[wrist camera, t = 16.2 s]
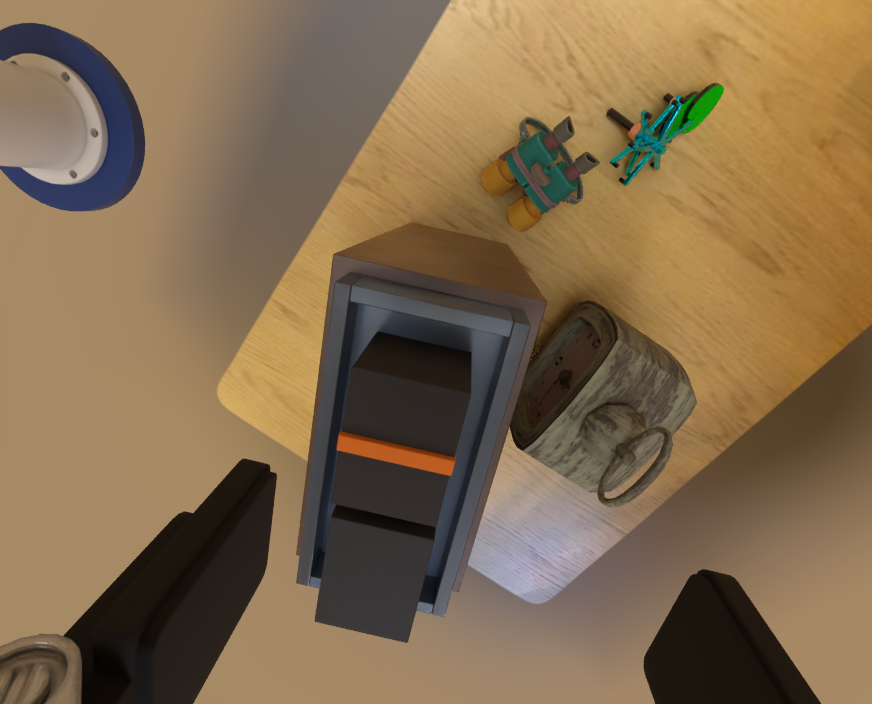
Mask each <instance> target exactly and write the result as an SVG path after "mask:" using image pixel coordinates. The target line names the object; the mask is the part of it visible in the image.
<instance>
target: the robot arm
mask: <svg viewBox="0 0 872 704" xmlns="http://www.w3.org/2000/svg"><path fill="white" fill-rule="evenodd" d="M107 147H108V130H107V125H106V119H105V116H104V113H103V111H102V108H101V106H100V104H99V102H98V100H97V98H96V96H95V94H94V93H93V91H92V90H91V89H90V87H89V86H88V84H87V83H86V82H85V81H84V80H83V79H82V78H81V77H80V76H79V75H78V74H77V73H76V72H75V71H73V70H72V69H71V68H69V67H68V66H66V65H65V64H63V63H61V62H59V61H57V60H54V59H52V58H49V57H46V56H42V55H38V54H19V55H15V56H12V57H11V58H9V59H7V60H5V61H2V60H0V166H10V167H21V168H22V169H24V170H25V171H26V172H28V173H29V174H31V175H32V176H34V177H36V178H38V179H40V180H43V181H46V182H49V183H53V184H61V185H73V184H78V183H82V182H84V181H86V180H88V179H90V178H91V177H92V176H93V175H95V174H96V173H97V172H98V170H99V169H100V167H101V166H102V164H103V162H104V159H105V157H106V153H107ZM276 480H277V475H276V473H273V472H270V466H269V465H268V464H265V463H261V462H257V461H253V460H248V459H242V460H241V461H239V462H238V464H237V465H236V466H235V467H234V468H233V469H232V470H231V472H230V473H229V474H228V475H227V476H226V477H225V478H224V479H223V481H222V482H221V483H220V484H219V485H218V486H217V487H216V488H215V489H214V491H213V492H212V493H211V494H210V495H209V496H208V497H207V498H206V500H205V501H204V502H203V503H202V504H201V505H200V506H199V507H198V509H197V510H196V511H195V512H194V513H189V512H182V513H180V514H178V515H177V516H176V517H175V518H173V519H172V521H170V522H169V524H168V525H167V526H166V527H165V528H164V529H163V530H162V531H161V532H160V533H159V534H158V535H157V537H156V538H154V540H153V541H152V542H151V543H150V544H149V545H148V546H147V547H146V548H145V549H144V550H143V551H142V552H141V553H140V555H139V556H138V557H137V558H136V559H135V560H134V561H133V562H132V563H131V564H130V565H129V566H128V567H127V568H126V569H125V571H124V572H123V573H122V574H121V575H120V576H119V577H118V578H117V579H116V580H115V581H114V582H113V583H112V585H110V587H109V588H108V589H107V590H106V591H105V592H104V593H103V594H102V595H101V596H100V597H99V599H97V600H96V601H95V603H94V604H93V605H92V606H91V607H90V608H89V609H88V610H87V611H86V612H85V613H84V614H83V615H82V617H81V618H80V619H79V620H78V621H77V622H76V623H75V624H74V625H73V626H72V627H71V628H70V629H69V630H68V631H67V633H66V634H65V635H64V636H61V635H58V634H38V635H34V636H29V637H24V638H20V639H17V640H15V641H13V642H10V643H8V644H5V645H3V646H1V647H0V704H193V703H194V701H195V699H196V698H197V696H198V694H199V692H200V690H201V689H202V687H203V685H204V683H205V681H206V679H207V678H208V676H209V674H210V672H211V670H212V669H213V667H214V665H215V663H216V661H217V660H218V658H219V656H220V654H221V652H222V651H223V649H224V647H225V645H226V643H227V642H228V640H229V638H230V636H231V634H232V633H233V631H234V629H235V627H236V625H237V623H238V622H239V620H240V618H241V616H242V614H243V613H244V611H245V609H246V607H247V606H248V603H249V602H250V600H251V598H252V596H253V595H254V593H255V591H256V589H257V588H258V586H259V584H260V582H261V580H262V578H263V576H264V573H265V570H266V566H267V560H268V551H269V541H270V533H271V524H272V515H273V507H274V497H275V489H276ZM644 672H645V675H646V679H647V681H648V684H649V686H650V690H651V693H652V695H653V698H654V701H655V704H821V703H820V701H819V700H818V698H817V697H816V695H815V694H814V693H813V691H812V690H811V688H810V687H809V685H808V684H807V682H806V681H805V679H804V678H803V677H802V675H801V674H800V672H799V671H798V669H797V668H796V666H795V665H794V663H793V662H792V660H791V659H790V657H789V656H788V654H787V653H786V652H785V650H784V649H783V647H782V646H781V644H780V643H779V641H778V640H777V638H776V637H775V635H774V634H773V633H772V631H771V630H770V628H769V627H768V625H767V624H766V622H765V621H764V619H763V618H762V616H761V615H760V614H759V612H758V611H757V609H756V608H755V606H754V605H753V603H752V602H751V600H750V599H749V597H748V596H747V595H746V593H745V592H744V590H743V589H742V587H741V586H740V584H739V583H738V582H737V580H736V579H735V578H734V577H732V576H730V575H726V574H722V573H718V572H714V571H709V570H703V569H702V570H700V571H698V573H697V574H693V575H691V576H690V577H689V579H688V581H687V582H686V584H685V586H684V588H683V589H682V591H681V593H680V595H679V596H678V598H677V600H676V602H675V603H674V605H673V607H672V609H671V611H670V612H669V614H668V616H667V617H666V619H665V621H664V623H663V624H662V626H661V628H660V630H659V632H658V633H657V635H656V637H655V639H654V640H653V642H652V644H651V646H650V647H649V649H648V651H647V653H646V655H645V657H644Z"/></svg>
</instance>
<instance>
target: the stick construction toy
mask: <svg viewBox="0 0 872 704" xmlns="http://www.w3.org/2000/svg"><path fill="white" fill-rule="evenodd" d="M723 91H724V88H723V86H722V85H720V84H719V83H713V84H711V85H709V86H708V87H706V88H705V89H704V90H703V91H701V92H700V93H699V92H697V91H694V92H692V93H690V94H689V95H687V96H686V97H685V98H684V97H682V96H681V95H678V96H675V97H673V96H672V95H670V94H669V93H668V94H666V95H665V97H664V100H665V101H666V102H668V103H669V106H668V107H667V108H666V110H665V111H664V112H663V113H662V114H661V115H660V117H659V118H658V119H657V120H656V121H655V122H654V124H653V125H652V126H651V127H650V128H649V123H648V119H651V118H652V115H651V114H650V113H649V112H647V111H646V110H643V111H642V112H641V123H637V124H634V123H632V122H631V121H630V120H628V119H627V118H625V117H624V116H623V115H621V114H620V113H619V112H617V111H616V110H615V109H613V108H611V109H610V110H609V111H608V112H607V116H608V117H609V118H611V119H612V120H613V121H615V122H616V123H617V124H619V125H620V126H621V127H623V128H624V129H625V130H627V131H628V132H629V134H628V137H630V138H631V139H632V140H634V141H635V142H634V143H633V142H629V143H628V146H629V147H627V148H626V149H625V150H624V151H622V152H621V153H620V154H618V155H617V156H616V157H614V158H613V159H612V160H611V161H610V164H612V165H613V166H614V167H615V168H618V167H619V166H620V165H619V164H618V163H617V162H618V161H619V160H621V159H622V158H624V157H625V156H627V155H628V154H629V153H631V152H632V151H634V150H635V153H634V155H633V157H632V159H631V161H630V163H629V165H628V167H627V169H626V172H625V175H627V176H628V177H627V178H626V180H624V179H623V178H622V177H621V178H620V179H619V182H621V183H622V184H623V185H624V186H627V185H628V184H629V182H630V181H631V180H632V179H633V178H634V177H635V176H636V175H637V174H638V172H639V171H640V170H641V169H642V168H643V167H644V166H645V165H646V163H647V162H648V161H649V160H650V159H651V158H652V157H653V161H654V162H652V163H651V164H650V166H651V167H653V168H654V169H655V170H658V169H659V168H660V158H661V155H662V154H664V153H665V151H666V149H667V148H666V147H665V146H664V145H666V144H667V143H671V141H672V139H673V138H675V137H676V136H677V135H679V134H680V133H681V132H683V133H688V132H690V131H691V130H693V129H694V128H695V127H697V126H698V125H699V124H700V123H701V122H702V121H703V120H704V119H705V118H706V117H707V115H708V114H709V113H710V112H711V111H712V109H713V108H714V107H715V105H716V104H717V102H718V101H719V99H720V98H721V96H722V94H723ZM671 111H672V112H671ZM670 112H671V113H670ZM668 115H669V116H668ZM667 116H668V117H667ZM666 117H667V119H666V120H665V118H666ZM664 120H665V122H664V123H663V125H662V127H661V129H660V131H659V134H653V133H654V132H655V131H656V129H657V128H658V127H659V126H660V125H661V123H662V122H663V121H664ZM642 151H649V152H648V153H647V154H646V156H645V157H644V158H643V159H642V160H641V162H640V163H639V164H638V165H637V166H636V168H635V169H634V170H633V171H632V172H631V170H632V169H633V167H634V165H635V163H636V161H637V159H638V158H639V156H640V154H641V152H642ZM630 172H631V173H630Z"/></svg>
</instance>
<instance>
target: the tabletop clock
mask: <svg viewBox="0 0 872 704" xmlns="http://www.w3.org/2000/svg"><path fill="white" fill-rule="evenodd" d="M696 404H697V402H696V398H695V394H694V391H693V389H692V386H691V383H690V380H689V377H688V375H687V373H686V372H685V370H684V368H683V367H682V365H681V364H680V363H679V362H678V361H677V360H676V359H675V358H674V357H673V355H672V354H671V353H670V352H669V351H668V350H666V349H665V348H663V347H662V346H660V345H659V344H657V343H656V342H654V341H653V340H652V339H650V338H649V337H647V336H646V335H644V334H643V333H641V332H640V331H638V330H637V329H635V328H634V327H633V326H631V325H630V324H628V323H627V322H625V321H624V320H622V319H621V318H619V317H618V316H616V315H615V314H614V313H612V312H611V311H609V310H608V309H606V308H605V307H603V306H601V305H599V304H597V303H595V302H592V301H585V302H580V303H578V304H577V305H576V306H575V309H574V310H573V311H572V312H571V313H570V314H569V315H568V316H567V317H566V318H565V319H564V321H563V322H562V323H561V324H560V325H559V327H558V328H557V329H556V330H555V331H554V333H553V334H552V335H551V336H550V338H549V339H548V340H547V341H546V342H545V344H544V345H543V346H542V347H541V349H540V350H539V351H538V353H537V354H536V355H535V357H534V358H533V359H532V361H531V362H530V363H529V365H528V367H527V371H526V374H525V377H524V380H523V384H522V387H521V390H520V393H519V397H518V400H517V403H516V407H515V410H514V413H513V416H512V420H511V423H510V426H509V427H510V430H511V434H512V437H513V441H514V443H515V445H516V446H517V448H519V449H520V450H522V451H523V452H525V453H527V454H528V455H530V456H532V457H533V458H535V459H536V460H538V461H540V462H541V463H543V464H544V465H546V466H548V467H549V468H551V469H553V470H554V471H556V472H557V473H559V474H561V475H562V476H564V477H566V478H567V479H569V480H570V481H572V482H574V483H575V484H577V485H578V486H580V487H582V488H583V489H585V490H587V491H588V492H598V498H599V500H600V502H601V503H602V504H604V505H606V506H607V507H618V506H621V505H624V504H626V503H628V502H630V501H632V500H633V499H634V498H636V497H637V496H638V495H640V494H641V493H642V492H643V491H644V490H645V489H646V488H647V487H648V486H649V485H650V484H651V483H652V482H653V481H654V480H655V479H656V478H657V476H658V475H659V474H660V473H661V471H662V470H663V469H664V467H665V465H666V463H667V461H668V459H669V457H670V454H671V450H672V446H673V443H672V436H673V434H674V433H675V432H676V431H677V430H678V429H679V428H680V427H681V426H682V425H683V424H684V422H685V421H686V420H687V419H688V417H689V416H690V414H691V413H692V411H693V409H694V407H695V406H696ZM661 447H662V448H661ZM660 448H661V451H660V453H659V455H658V457H657V458H656V460H655V462H654V463H653V464H652V466H651V467H650V468H649V469H648V470H647V471H646V473H645V474H644V475H643V476H642V477H641V478H640V479H639V480H638V481H637V482H636V483H635V484H634V485H633V486H631V487H630V488H629V489H628V490H627V491H625V492H624V493H623V494H621V495H619V496H617V497H616V498H612V499H607V498H605V496H604V492H609V491H612V490H614V489H616V488H618V487H619V486H621V485H622V484H623V483H625V482H626V481H627V480H628V479H629V478H630V477H631V476H632V475H633V474H634V473H636V472H637V471H638V470H639V469H640V468H641V467H642V466H643V465H644V464H645V463H646V462H647V461H648V460H650V459H651V458H652V457H653V456H654V455H655V454H656V453H657V452H658V451H659V450H660Z"/></svg>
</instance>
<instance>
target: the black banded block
mask: <svg viewBox="0 0 872 704" xmlns="http://www.w3.org/2000/svg"><path fill="white" fill-rule="evenodd" d="M471 371H472V353H471V352H467V351H463V350H458V349H454V348H449V347H445V346H441V345H436V344H432V343H427V342H423V341H418V340H414V339H410V338H405V337H401V336H396V335H392V334H387V333H383V332H379V331H378V332H376V334H375V335H374V337H373V338H372V339H371V341H370V342H369V344H368V345H367V346H366V348H365V349H364V350H363V352H362V353H361V355H360V356H359V357H358V359H357V360H356V362H355V363H354V364H353V366H352V367H351V374H350V380H349V387H348V393H347V400H346V407H345V413H344V420H343V426H342V430H341V432H340V434H339V435H338V442H337V450H338V451H339V453H338V459H337V466H336V472H335V479H334V485H333V492H332V499H331V503H333V504H337V505H342V506H346V507H350V508H355V509H359V510H363V511H368V512H372V513H377V514H381V515H385V516H390V517H394V518H398V519H403V520H407V521H412V522H416V523H420V524H425V525H429V526H433V527H436V526H437V522H438V518H439V515H440V511H441V507H442V503H443V499H444V496H445V492H446V488H447V484H448V480H449V477H450V476H451V475H452V473H453V469H454V465H455V459H456V455H455V454H456V450H457V446H458V442H459V439H460V435H461V431H462V427H463V423H464V420H465V416H466V412H467V408H468V404H469V401H470V397H471Z"/></svg>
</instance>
